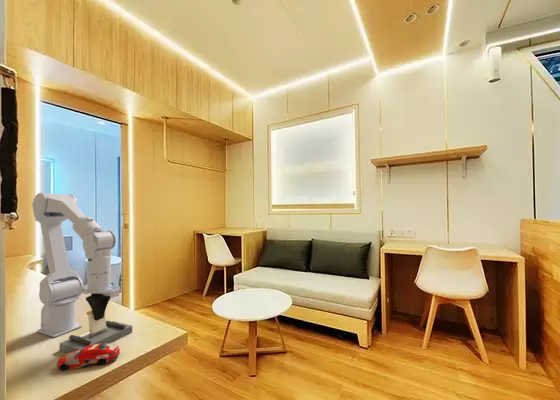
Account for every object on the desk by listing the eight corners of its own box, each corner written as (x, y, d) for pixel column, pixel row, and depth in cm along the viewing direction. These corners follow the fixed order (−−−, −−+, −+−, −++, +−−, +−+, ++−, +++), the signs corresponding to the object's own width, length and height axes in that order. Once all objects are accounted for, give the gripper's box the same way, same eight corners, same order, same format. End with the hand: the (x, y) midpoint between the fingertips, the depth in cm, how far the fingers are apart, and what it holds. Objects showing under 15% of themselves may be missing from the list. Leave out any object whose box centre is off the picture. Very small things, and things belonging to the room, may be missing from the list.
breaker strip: (59, 350, 71) (59, 338, 71) (112, 327, 85) (113, 317, 85) (80, 357, 68) (80, 345, 68) (132, 332, 82) (132, 321, 82)
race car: (51, 374, 62) (51, 357, 62) (64, 361, 67) (64, 345, 67) (114, 365, 65) (114, 349, 65) (121, 353, 70) (121, 338, 70)
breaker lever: (88, 337, 75) (85, 312, 75) (105, 330, 79) (102, 306, 80) (91, 337, 74) (89, 312, 75) (108, 329, 79) (105, 306, 79)
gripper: (69, 273, 76) (68, 320, 76) (101, 277, 71) (101, 328, 70) (94, 268, 83) (93, 311, 82) (126, 271, 77) (125, 318, 77)
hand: (99, 319), depth 77 cm, fingers closed, pressing on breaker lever
